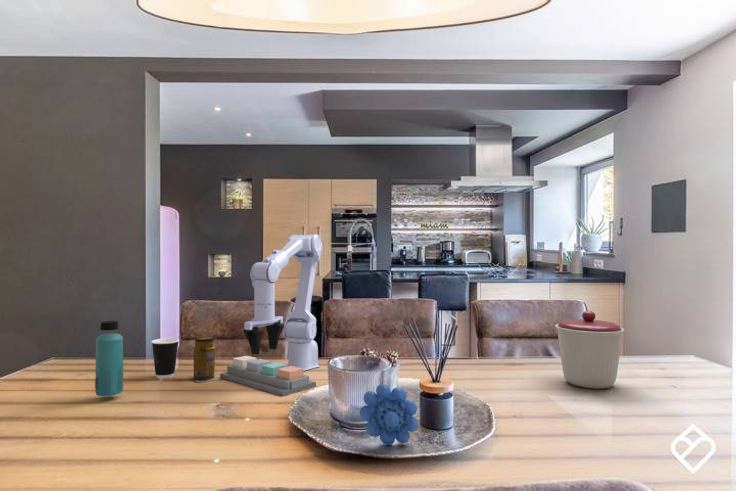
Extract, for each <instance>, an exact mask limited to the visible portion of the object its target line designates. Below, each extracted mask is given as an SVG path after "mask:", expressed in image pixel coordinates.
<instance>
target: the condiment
mask: <svg viewBox="0 0 736 491" xmlns="http://www.w3.org/2000/svg"><path fill="white" fill-rule="evenodd" d="M214 339H215V338H214V337H212V336H199V337H196V338H195V341H194V342H195V343H194V348H193V375H189V376H187V377H188V378H189V379H190V380H193V381H194V382H196V383H204V382H210V381H218V380H221V379H222V378H220V376H217V375H215V372H216V371H215V370H216V369H215V367H216V366H215V365H216V357H215V355H216V347H215V346H214V344H215V343H214Z"/></svg>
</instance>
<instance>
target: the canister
mask: <svg viewBox="0 0 736 491" xmlns="http://www.w3.org/2000/svg"><path fill="white" fill-rule="evenodd" d="M554 327H555V329H557V337H558V345H559V351H560V361H561V369H562V373H563V376H564V379H565V380H566V381H567V382H568V383H569V384H571V385H573V386H577V387H579V388H580V387H581V388H586V389H595V390H596V389H597V390H600V389H602V390H603V389H607V388H611V387H612V386H614V384H615V383H616V381H617V376H618V372H619V371H618V370H619V362H620V353H621V345H622V335H623V333H624V332H625V331H626V330H625V328H623V327H621V326H620V325H619V324H617V323H614V322H611V321H606V320H597V319H596V313H595V312H593V311H591V310H585V311H583V312H581V318H577V319H576V318H573V319H566V320H565V319H564V320H562V321H560V322H558V323H556V324H555V325H554Z"/></svg>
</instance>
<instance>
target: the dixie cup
mask: <svg viewBox="0 0 736 491" xmlns="http://www.w3.org/2000/svg"><path fill="white" fill-rule="evenodd" d="M179 342H180V339H179V338H178V337H177V338H176V337H175V338H174V337H166V338H157V339H153V340H151V341H150V343H151V345H152V355H153V362H154V372H155V376H156V378H157V379H160V380H161V379H163V380H164V379H170V378H173V377H174V374H175V372H176V364H177V356H178V347H179Z"/></svg>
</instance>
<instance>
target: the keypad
mask: <svg viewBox="0 0 736 491" xmlns="http://www.w3.org/2000/svg"><path fill="white" fill-rule="evenodd" d="M226 368H227V369H226V370H227V372H226V371H225V372H223V373H220V374H219V378H221V379H223V380H227V381H231V382H233V383H236V384H241V385H243V386H247V387H251V388H254V389H257V390H261V391H263V392H268V393H270V394H274V395H277V396H281V397H285V396H288V395H292V394H294V393H295V394H296V393H299V392H302V391H304V390H308V389H312V388H315V387H317V382H316V381H313V380H310V376H309V375H307V374H303V377H302V378H298V379H294V380H291V381H288V380H284V379H280V378H278V375H277V376H269V375H265V374H262V371H261V372H254V371H250V370H247V368H243V369H242V368H238V367H235V366H233V363H232V364H229V365H227V367H226Z"/></svg>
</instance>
